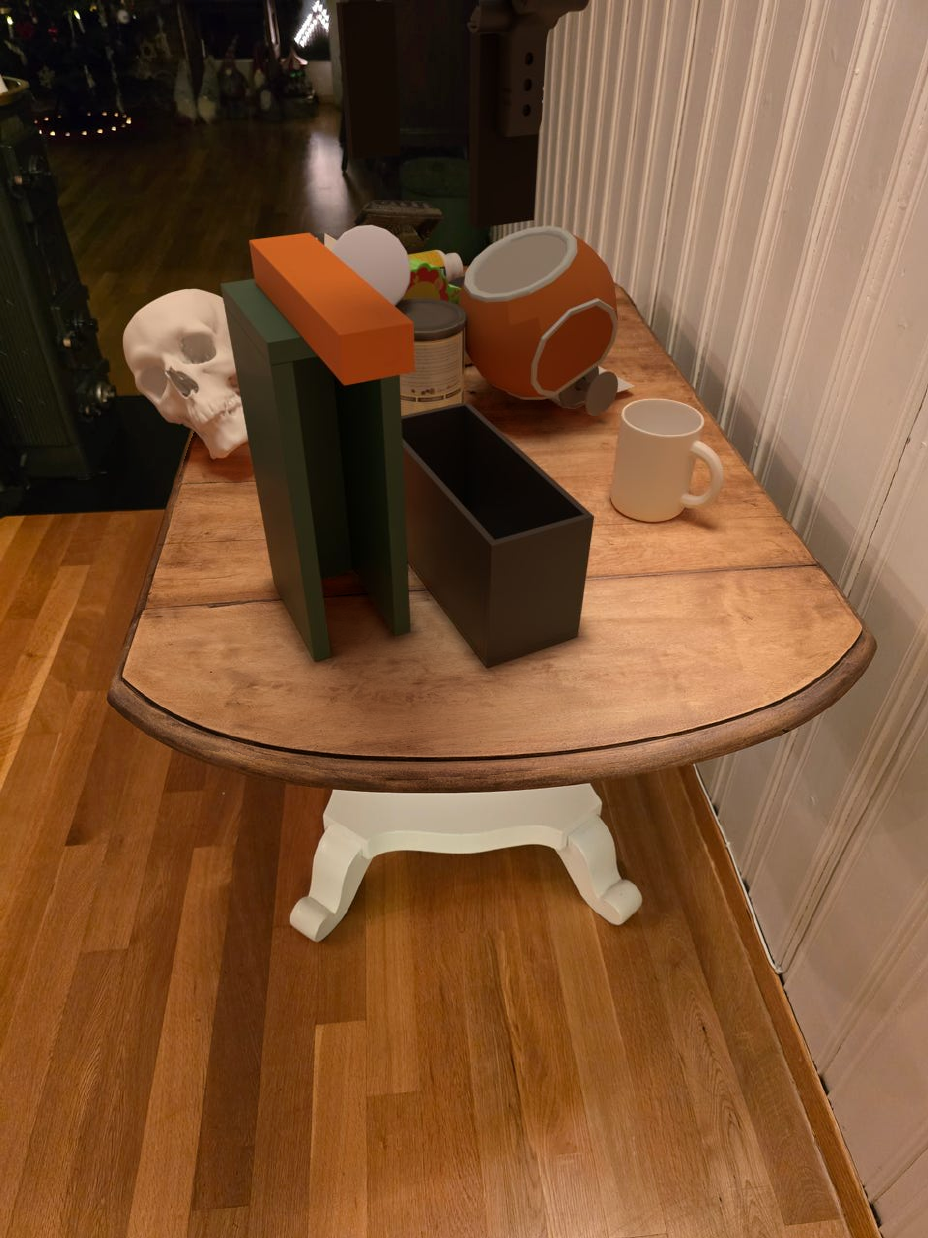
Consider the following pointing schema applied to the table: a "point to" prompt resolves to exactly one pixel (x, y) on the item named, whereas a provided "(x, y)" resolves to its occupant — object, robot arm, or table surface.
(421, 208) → the toy tank
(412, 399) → the coffee can
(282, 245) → the orange rectangular bar
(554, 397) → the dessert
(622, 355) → the table surface
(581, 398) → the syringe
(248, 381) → the stand
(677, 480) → the mug
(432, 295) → the taco
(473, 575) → the black open rectangular box
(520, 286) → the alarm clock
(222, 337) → the white skull
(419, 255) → the pill bottle
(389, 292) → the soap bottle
